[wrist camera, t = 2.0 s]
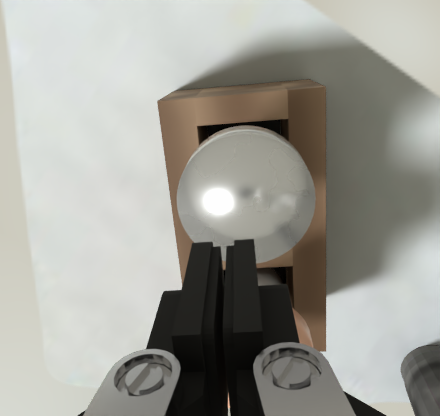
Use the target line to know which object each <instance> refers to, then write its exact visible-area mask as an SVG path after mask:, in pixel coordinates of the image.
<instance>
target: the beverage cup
mask: <svg viewBox="0 0 440 416" xmlns="http://www.w3.org/2000/svg"><path fill="white" fill-rule="evenodd" d="M401 374H402V377H403V379H404V382H405V387H406V391H407V394H408V397H409V399H410V402H411V405H412V407H413V411H414V414H415V416H440V346H436V345H427V346H423V347H419V348H417V349H415V350H413V351H411V352H410V353H409V354H408V355H407V356H406V357H405V358H404V360H403V362H402V364H401Z"/></svg>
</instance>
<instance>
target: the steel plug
mask: <svg viewBox="0 0 440 416" xmlns="http://www.w3.org/2000/svg"><path fill="white" fill-rule="evenodd" d="M315 200H316V197H315V188H314V183H313V180H312V177H311V175H310V172H309V170H308V168H307V167H306V165H305V163H304V161H303V159H302V157H301V155H300V154H299V152H298V151H297V150H296V148H295V147H294V146H293V145H292V144H291V143H290V142H289V141H288V140H286V139H285V138H284V137H283V136H281V135H279V134H277V133H276V132H274V131H271V130H269V129H266V128H262V127H258V126H235V127H230V128H227V129H223V130H221V131H219V132H217V133H215V134H213V135H211V136H210V137H208V138H207V139H206V140H205V141H203V142H202V143H201V144H200V145H199V146H198V147H197V148H196V150H195V151H194V153H193V154H192V155H191V157H190V159H189V161H188V163H187V165H186V167H185V169H184V171H183V173H182V175H181V178H180V181H179V185H178V189H177V209H178V214H179V217H180V220H181V223H182V225H183V227H184V229H185V231H186V233H187V234H188V235H189V237H190V238H191V239H192V241H193V242H194V243H197V242H213V247H216V246H220V247H221V254H222V260H223V261H226V247H227V246H232V245H234V240H243V239H254V245H255V255H256V264H257V263H262V262H266V261H269V260H272V259H275V258H277V257H279V256H281V255H283V254H284V253H286V252H287V251H289V250H290V249H291V248H292V247H294V246H295V245H296V244H297V243H298V242H299V241H300V239H301V238H302V237H303V236H304V234H305V233H306V231H307V229H308V227H309V225H310V223H311V221H312V218H313V215H314V210H315Z"/></svg>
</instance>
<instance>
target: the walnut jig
mask: <svg viewBox="0 0 440 416" xmlns="http://www.w3.org/2000/svg"><path fill="white" fill-rule="evenodd" d="M157 102H158V110H159V117H160V124H161V132H162V139H163V147H164V154H165V161H166V169H167V176H168V183H169V191H170V198H171V205H172V213H173V220H174V227H175V235H176V242H177V249H178V257H179V264H180V271H181V279H182V286H183V282H184V277H185V273H186V268H187V264H188V259H189V255H190V250H191V246H192V243H194V242H193V241H192V239H191V238H190V237H189V235H188V234H187V233H186V231H185V229H184V227H183V225H182V223H181V220H180V217H179V214H178V209H177V189H178V185H179V181H180V178H181V175H182V173H183V171H184V169H185V167H186V165H187V163H188V161H189V159H190V157H191V155H192V154H193V153H194V151H195V150H196V148H197V147H198V146H199V145H200V144H201V143H202V142H203V141H205V140H206V139H207V138H208V137H209V136H208V125H215V124H228V123H241V122H253V121H266V120H278V119H280V126H281V136H283V137H284V138H285V139H286V140H288V141H289V142H290V143H291V144H292V145H293V146H294V147H295V148H296V150H297V151H298V152H299V154H300V155H301V157H302V159H303V161H304V163H305V165H306V167H307V168H308V170H309V172H310V175H311V177H312V180H313V183H314V188H315V197H316V200H315V210H314V215H313V218H312V221H311V223H310V225H309V227H308V229H307V231H306V233H305V234H304V236H303V237H302V238H301V239H300V241H299V242H298V243H297V244H296V245H295V246H294V247H292V248H291V249H290V250H289V251H287V252H286V253H284V254H283V255H281V256H279V257H277V258H275V259H272V260H269V261H266V262H262V263H257V264H256V266H257V268H266V267H286V284H287V286H288V290H289V295H290V300H291V304H292V308H293V309H294V310H296V311H297V312H298V313H299V314H300V315H301V316H302V318H303V319H304V320H305V322H306V324H307V326H308V328H309V331H310V335H311V339H312V343H313V348H315V349H316V350H317V351H326V87H325V86H323V85H321V84H319V83H317V82H314V81H312V80H310V79H306V80H294V81H283V82H271V83H260V84H248V85H237V86H225V87H214V88H202V89H191V90H179V91H174V92H172V93H170V94H168V95H167V96H165V97H163V98H162V99H160V100H158V101H157ZM222 264H223V270H225V267H226V261H223V260H222Z"/></svg>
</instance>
